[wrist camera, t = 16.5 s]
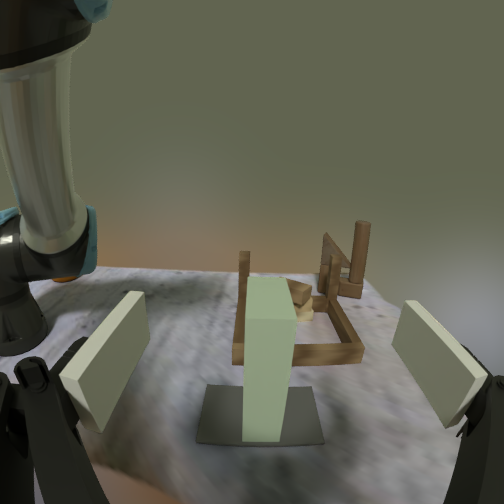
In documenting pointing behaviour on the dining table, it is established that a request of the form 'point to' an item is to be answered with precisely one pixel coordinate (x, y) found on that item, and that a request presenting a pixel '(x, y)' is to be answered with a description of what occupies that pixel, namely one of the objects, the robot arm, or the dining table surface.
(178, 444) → the dining table surface
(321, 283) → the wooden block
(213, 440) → the felt mat
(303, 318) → the pine offcut
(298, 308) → the oak offcut
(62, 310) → the dining table surface
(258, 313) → the sage block
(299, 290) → the walnut offcut
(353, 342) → the rack
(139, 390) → the dining table surface
